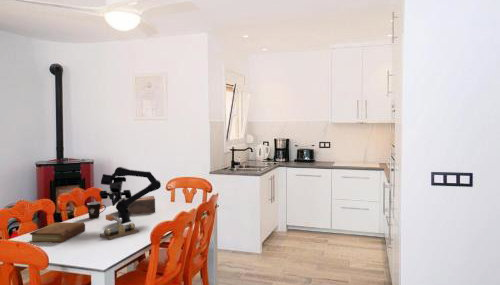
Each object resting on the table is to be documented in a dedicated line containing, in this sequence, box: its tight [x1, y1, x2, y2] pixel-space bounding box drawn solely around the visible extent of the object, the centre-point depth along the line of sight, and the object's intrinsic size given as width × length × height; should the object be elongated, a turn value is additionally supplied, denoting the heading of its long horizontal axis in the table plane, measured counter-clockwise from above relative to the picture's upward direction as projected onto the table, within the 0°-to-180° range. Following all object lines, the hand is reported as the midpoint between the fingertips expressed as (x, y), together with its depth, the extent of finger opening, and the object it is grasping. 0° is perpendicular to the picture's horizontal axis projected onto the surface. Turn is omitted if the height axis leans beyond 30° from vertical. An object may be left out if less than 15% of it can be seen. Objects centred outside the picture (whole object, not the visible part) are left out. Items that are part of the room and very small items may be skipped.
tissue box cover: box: [117, 195, 156, 216], centre depth 275 cm, size 26×14×10 cm, turn 108°
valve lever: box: [105, 214, 122, 224], centre depth 220 cm, size 3×15×3 cm, turn 51°
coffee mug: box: [86, 201, 107, 220], centre depth 258 cm, size 12×9×10 cm
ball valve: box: [99, 222, 140, 240], centre depth 216 cm, size 19×10×7 cm, turn 140°
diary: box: [29, 221, 86, 244], centre depth 214 cm, size 23×19×6 cm
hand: (113, 205), depth 232 cm, fingers closed
